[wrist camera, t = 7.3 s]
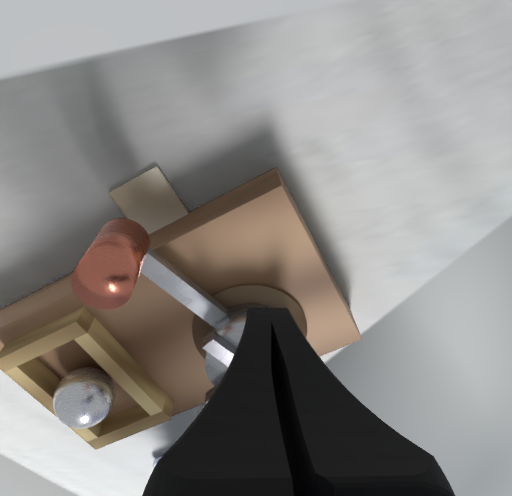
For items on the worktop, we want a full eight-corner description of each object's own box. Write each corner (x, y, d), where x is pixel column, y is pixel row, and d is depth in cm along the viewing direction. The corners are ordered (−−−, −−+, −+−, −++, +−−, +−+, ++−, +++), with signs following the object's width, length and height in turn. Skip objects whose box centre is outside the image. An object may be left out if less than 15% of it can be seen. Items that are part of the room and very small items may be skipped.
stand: (350, 310, 24) (368, 355, 21) (104, 414, 28) (87, 466, 24) (249, 114, 18) (252, 134, 15) (-45, 276, 22) (-94, 320, 19)
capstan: (326, 336, 21) (341, 390, 18) (249, 391, 23) (251, 448, 20) (145, 181, 17) (125, 217, 14) (66, 264, 18) (32, 312, 15)
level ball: (132, 382, 23) (119, 428, 20) (89, 400, 23) (71, 448, 21) (98, 347, 22) (79, 392, 19) (54, 368, 22) (29, 414, 20)
